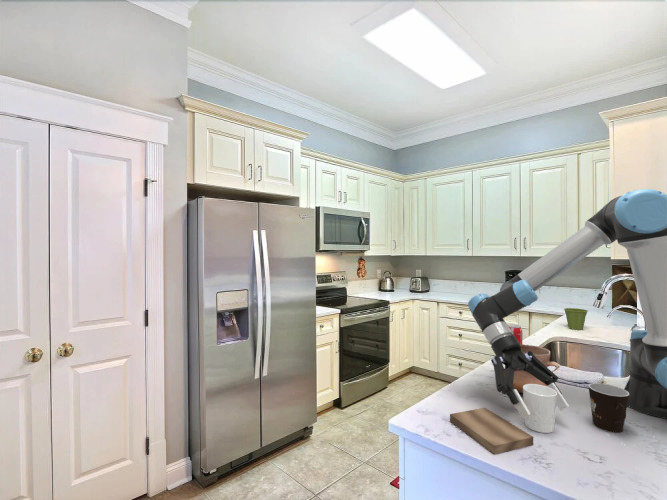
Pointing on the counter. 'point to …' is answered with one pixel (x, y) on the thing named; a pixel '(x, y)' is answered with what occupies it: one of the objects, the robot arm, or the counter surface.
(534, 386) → the white cup
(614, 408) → the coffee mug
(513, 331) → the soda can
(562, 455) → the counter surface
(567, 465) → the counter surface
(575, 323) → the plant pot
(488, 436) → the walnut board
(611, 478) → the counter surface
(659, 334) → the robot arm
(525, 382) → the ceramic jug
